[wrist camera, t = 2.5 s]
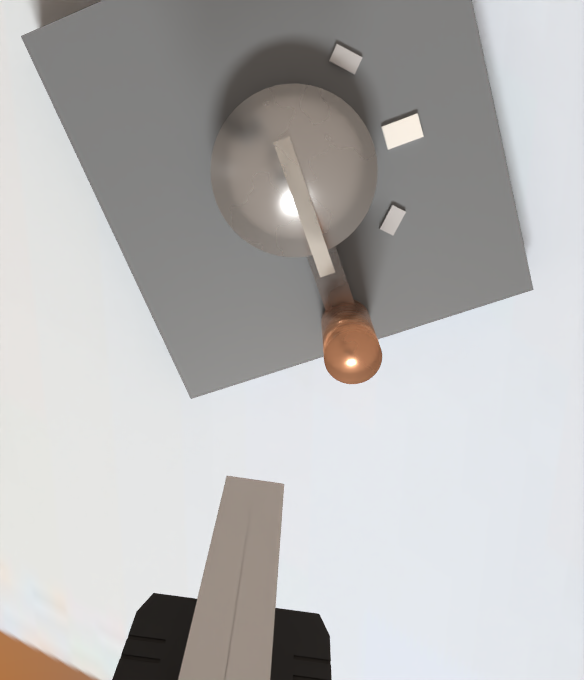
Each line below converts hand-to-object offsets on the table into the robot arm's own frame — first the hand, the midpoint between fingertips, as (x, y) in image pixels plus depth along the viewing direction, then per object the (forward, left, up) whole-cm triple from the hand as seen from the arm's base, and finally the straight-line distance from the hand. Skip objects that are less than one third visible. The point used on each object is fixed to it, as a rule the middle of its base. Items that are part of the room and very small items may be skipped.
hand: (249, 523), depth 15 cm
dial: (-4, +3, -14) cm, 15 cm away
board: (-7, +3, -16) cm, 18 cm away
